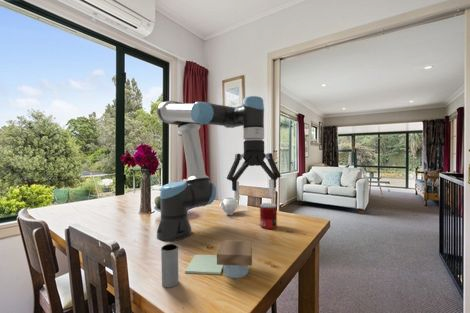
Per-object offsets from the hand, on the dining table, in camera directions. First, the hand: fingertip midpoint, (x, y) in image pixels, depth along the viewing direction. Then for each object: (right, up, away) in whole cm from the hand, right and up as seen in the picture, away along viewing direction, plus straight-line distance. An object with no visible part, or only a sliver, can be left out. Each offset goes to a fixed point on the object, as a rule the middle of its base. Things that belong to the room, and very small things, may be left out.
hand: (254, 198), depth 80 cm
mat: (-16, -20, -8) cm, 27 cm away
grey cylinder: (-26, -21, -18) cm, 37 cm away
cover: (-7, -16, -12) cm, 21 cm away
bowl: (-7, -20, -12) cm, 25 cm away
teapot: (-10, -20, +53) cm, 58 cm away
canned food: (+9, -20, +28) cm, 36 cm away
